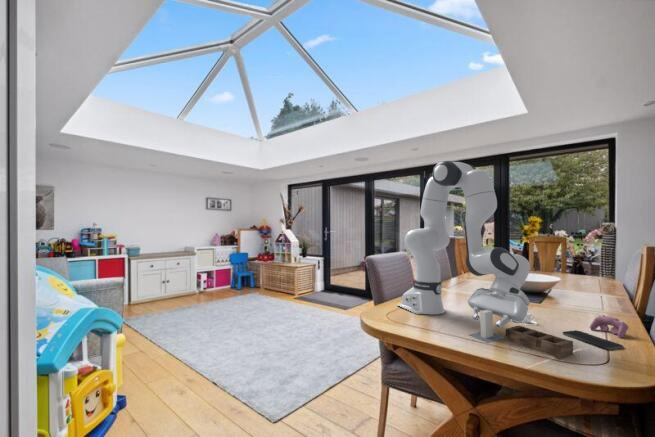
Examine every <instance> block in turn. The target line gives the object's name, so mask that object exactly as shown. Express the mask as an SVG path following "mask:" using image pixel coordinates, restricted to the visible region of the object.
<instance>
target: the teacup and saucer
mask: <svg viewBox="0 0 655 437" xmlns="http://www.w3.org/2000/svg"><path fill="white" fill-rule="evenodd" d="M531 316H532V318H531ZM534 318H535V317H534V315H533V314H531V313H529V312H527V314H526V316H525V318H524V320H522V321H520V322H519V321H515V320H512V321H513V322H515V323H517V324H520V325H523V326H528V324H530V323H532V324H530V326H537V325H538V322H536V321H533V320H534Z"/></svg>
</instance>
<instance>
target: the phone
mask: <svg viewBox="0 0 655 437" xmlns="http://www.w3.org/2000/svg"><path fill="white" fill-rule="evenodd" d="M562 335H563V336H566V337H568V338H571V339H574V340H577V341H579V342H582V343H583V344H588V345H589V346H593V347H595V348H598V349H601V350H605V351H615V349H617V350H622V349H621V348H623V349H624V345H623V344H620V343H617V342H614V341H612V340H608V339H605V338H602V337H599V336H596V335H593V334H590V333H588V332H584V331H581V330H577V329H576V330H567V331H562Z"/></svg>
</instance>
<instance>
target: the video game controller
mask: <svg viewBox="0 0 655 437" xmlns="http://www.w3.org/2000/svg"><path fill="white" fill-rule="evenodd" d="M609 326H612V327H611V328H609ZM589 328H590V330H591V331H595V330H596V329H598V328H600V330H601V331H603V332H609V330H610V332H611V333H612V334H614V335H617V337H618V338H620V339H621V338H623V337H625V335H626V334H627V331H628V329H629V325H628V324H627V323H626V322H624V321H623V320H621V319H618V318H616V317H612V316H607V315H606V316H603V315H598V316H596V317H595V318H593V321H591V324H590V326H589Z"/></svg>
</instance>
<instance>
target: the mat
mask: <svg viewBox="0 0 655 437" xmlns="http://www.w3.org/2000/svg"><path fill="white" fill-rule="evenodd" d="M468 336H469V337H471V338H475V339H477V340H480V341H482V342H484V343H487V344H490V343H493V342H496V341H500V340H505V339H506V336H502V335H500V334H497V333H494V332H493V336H492V337H489V338H484V337H481V331H479V332H475V333H471V334H468Z"/></svg>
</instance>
